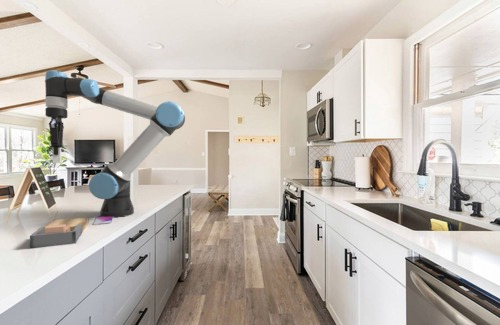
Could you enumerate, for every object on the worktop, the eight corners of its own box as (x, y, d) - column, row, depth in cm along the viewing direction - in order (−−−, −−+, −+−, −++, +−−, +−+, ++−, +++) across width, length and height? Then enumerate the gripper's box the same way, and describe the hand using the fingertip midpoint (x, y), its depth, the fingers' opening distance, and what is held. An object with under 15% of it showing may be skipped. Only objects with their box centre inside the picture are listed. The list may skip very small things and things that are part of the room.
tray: (81, 233, 93) (81, 223, 93) (75, 243, 83) (75, 231, 83) (41, 237, 88) (41, 226, 88) (30, 248, 78) (29, 235, 78)
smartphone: (92, 224, 105) (96, 216, 119) (92, 226, 105) (96, 218, 119) (111, 222, 108) (113, 214, 122) (111, 224, 108) (114, 216, 122)
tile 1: (65, 224, 85) (63, 226, 83) (65, 238, 85) (63, 241, 83) (47, 225, 83) (44, 228, 81) (47, 240, 83) (44, 243, 81)
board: (87, 224, 106) (87, 217, 106) (81, 233, 94) (81, 225, 94) (53, 227, 101) (53, 219, 101) (41, 237, 89) (41, 229, 89)
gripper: (50, 109, 111) (50, 162, 112) (40, 104, 100) (41, 162, 100) (70, 111, 114) (70, 162, 115) (63, 106, 103) (63, 163, 103)
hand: (56, 162), depth 108 cm, fingers closed
